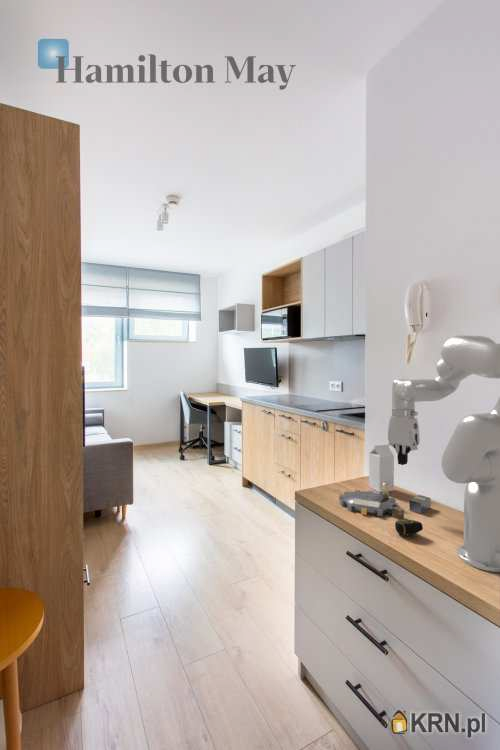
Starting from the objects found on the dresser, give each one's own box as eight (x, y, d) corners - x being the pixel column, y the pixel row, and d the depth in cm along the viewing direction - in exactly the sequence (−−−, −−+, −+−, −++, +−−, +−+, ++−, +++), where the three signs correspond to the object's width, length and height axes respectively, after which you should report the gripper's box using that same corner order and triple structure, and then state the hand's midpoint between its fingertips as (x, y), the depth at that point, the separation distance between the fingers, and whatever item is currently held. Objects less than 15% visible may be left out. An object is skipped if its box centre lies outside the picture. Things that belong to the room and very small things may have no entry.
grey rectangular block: (430, 508, 132) (430, 497, 132) (420, 514, 127) (420, 502, 127) (419, 505, 135) (419, 494, 135) (409, 510, 130) (409, 499, 130)
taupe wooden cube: (403, 517, 124) (404, 509, 124) (399, 519, 122) (399, 510, 122) (396, 514, 126) (396, 506, 126) (392, 516, 125) (392, 507, 125)
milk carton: (393, 491, 150) (394, 446, 150) (379, 493, 148) (379, 447, 147) (382, 485, 157) (383, 442, 156) (368, 487, 155) (369, 443, 154)
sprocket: (409, 507, 132) (409, 486, 132) (374, 521, 120) (374, 497, 120) (362, 491, 149) (362, 472, 149) (327, 502, 137) (327, 481, 137)
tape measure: (425, 533, 109) (422, 520, 110) (408, 538, 107) (406, 525, 107) (407, 529, 115) (405, 517, 116) (391, 534, 113) (389, 521, 113)
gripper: (429, 415, 125) (428, 467, 126) (390, 410, 137) (390, 458, 138) (417, 416, 121) (416, 470, 121) (378, 412, 133) (378, 461, 134)
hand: (402, 463), depth 130 cm, fingers closed
